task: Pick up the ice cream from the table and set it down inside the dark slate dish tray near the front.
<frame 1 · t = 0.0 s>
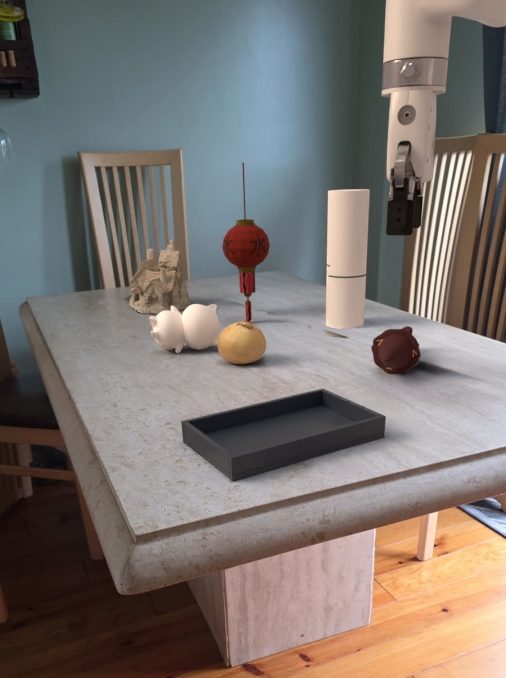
hand: (404, 231, 82), 21 cm above the table, tool pointing down, fingers open, 9 cm apart
lantern: (248, 323, 128), on the table
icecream: (395, 373, 95), on the table
dish tray: (283, 439, 73), on the table
cylindrical container: (344, 334, 118), on the table
onion: (242, 362, 103), on the table
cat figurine: (187, 349, 111), on the table
ceramic cottage: (156, 307, 147), on the table
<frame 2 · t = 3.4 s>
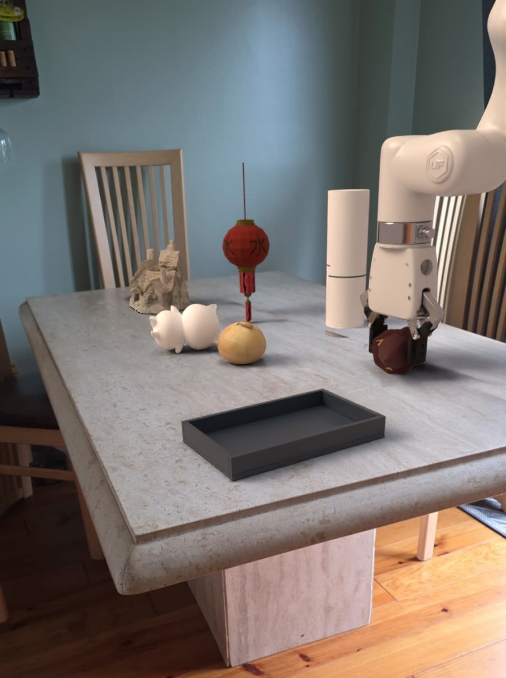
hand: (396, 356, 94), 2 cm above the table, tool pointing down, fingers closed on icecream, 7 cm apart
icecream: (394, 373, 95), on the table, touching gripper
everything else where it was.
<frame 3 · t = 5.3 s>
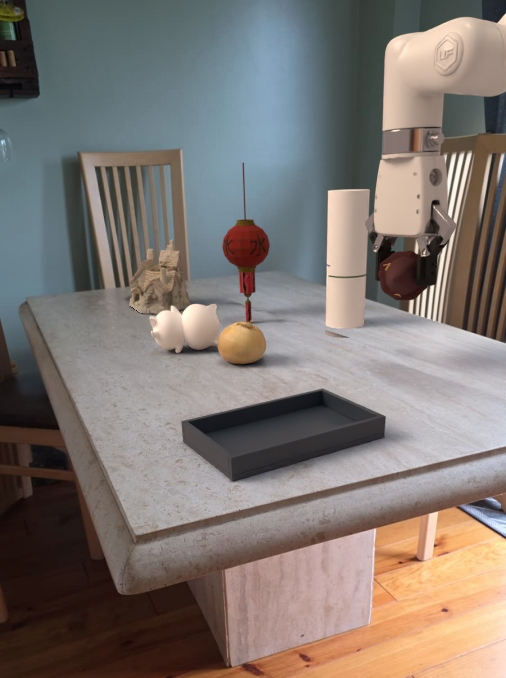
hand: (404, 282, 89), 13 cm above the table, tool pointing down, fingers closed on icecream, 7 cm apart
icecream: (403, 300, 90), point 11 cm above the table, touching gripper
everything else where it was.
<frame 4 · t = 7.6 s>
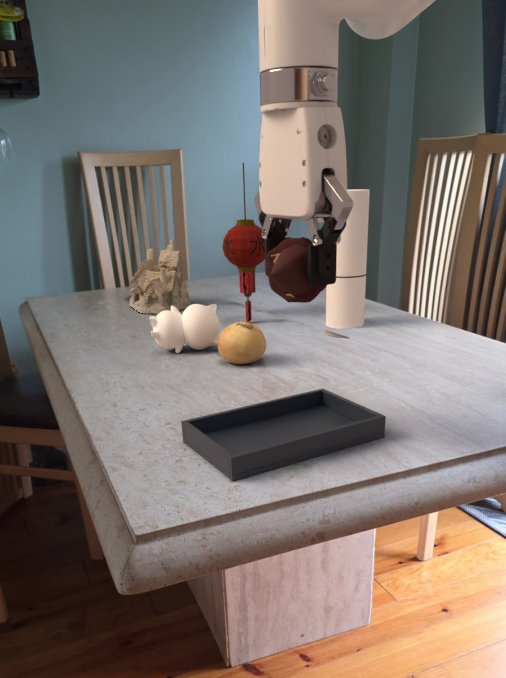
hand: (299, 278, 68), 18 cm above the table, tool pointing down, fingers closed on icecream, 7 cm apart
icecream: (299, 302, 69), point 15 cm above the table, touching gripper
everything else where it was.
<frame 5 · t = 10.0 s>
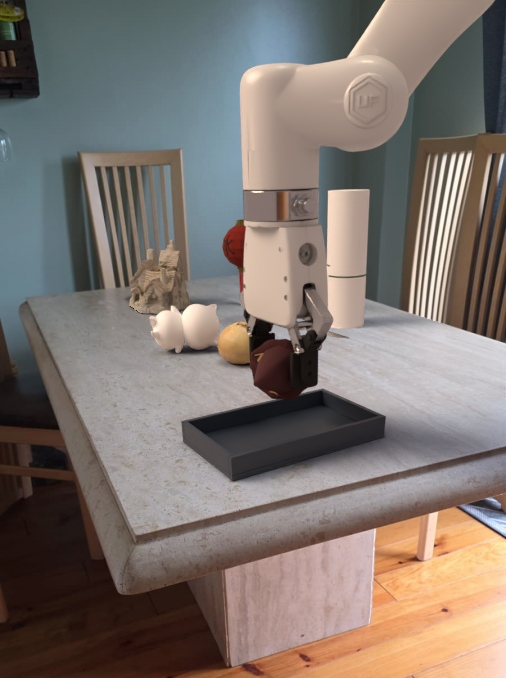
hand: (282, 376, 69), 8 cm above the table, tool pointing down, fingers closed on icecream, 7 cm apart
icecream: (282, 398, 70), point 5 cm above the table, touching gripper
everything else where it was.
when the fingers open (3 cm above the table, at t = 11.8 s): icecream stays where it is, resting on dish tray.
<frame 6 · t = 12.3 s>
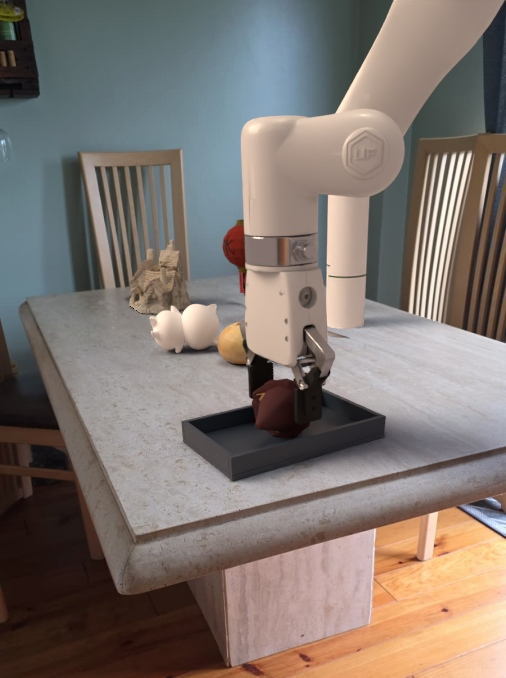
hand: (283, 408, 71), 4 cm above the table, tool pointing down, fingers open, 9 cm apart
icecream: (283, 436, 72), resting on dish tray
everything else where it was.
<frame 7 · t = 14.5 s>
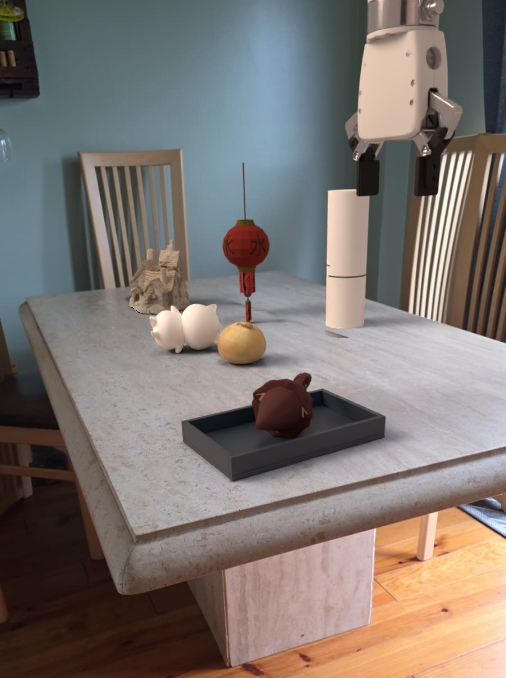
hand: (395, 195, 73), 25 cm above the table, tool pointing down, fingers open, 9 cm apart
nothing on the table moved.
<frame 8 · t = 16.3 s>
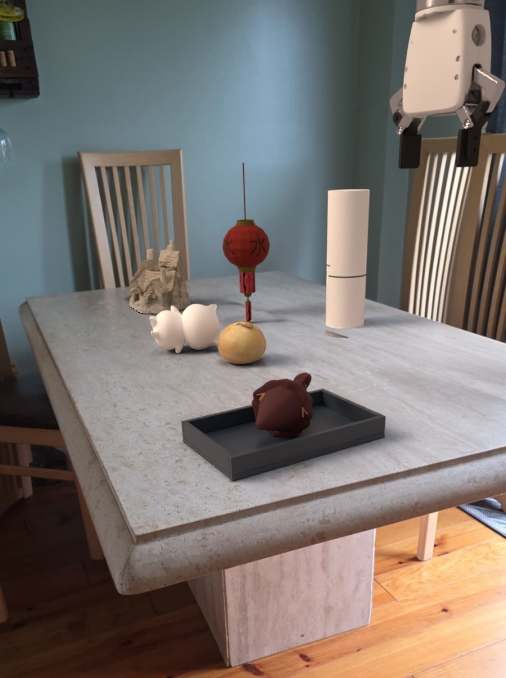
hand: (436, 167, 78), 28 cm above the table, tool pointing down, fingers open, 9 cm apart
nothing on the table moved.
at the end: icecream inside the target area in the dish tray (0.0 cm from its centre), point 0.4 cm above the dish tray's base; the gripper is holding nothing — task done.
